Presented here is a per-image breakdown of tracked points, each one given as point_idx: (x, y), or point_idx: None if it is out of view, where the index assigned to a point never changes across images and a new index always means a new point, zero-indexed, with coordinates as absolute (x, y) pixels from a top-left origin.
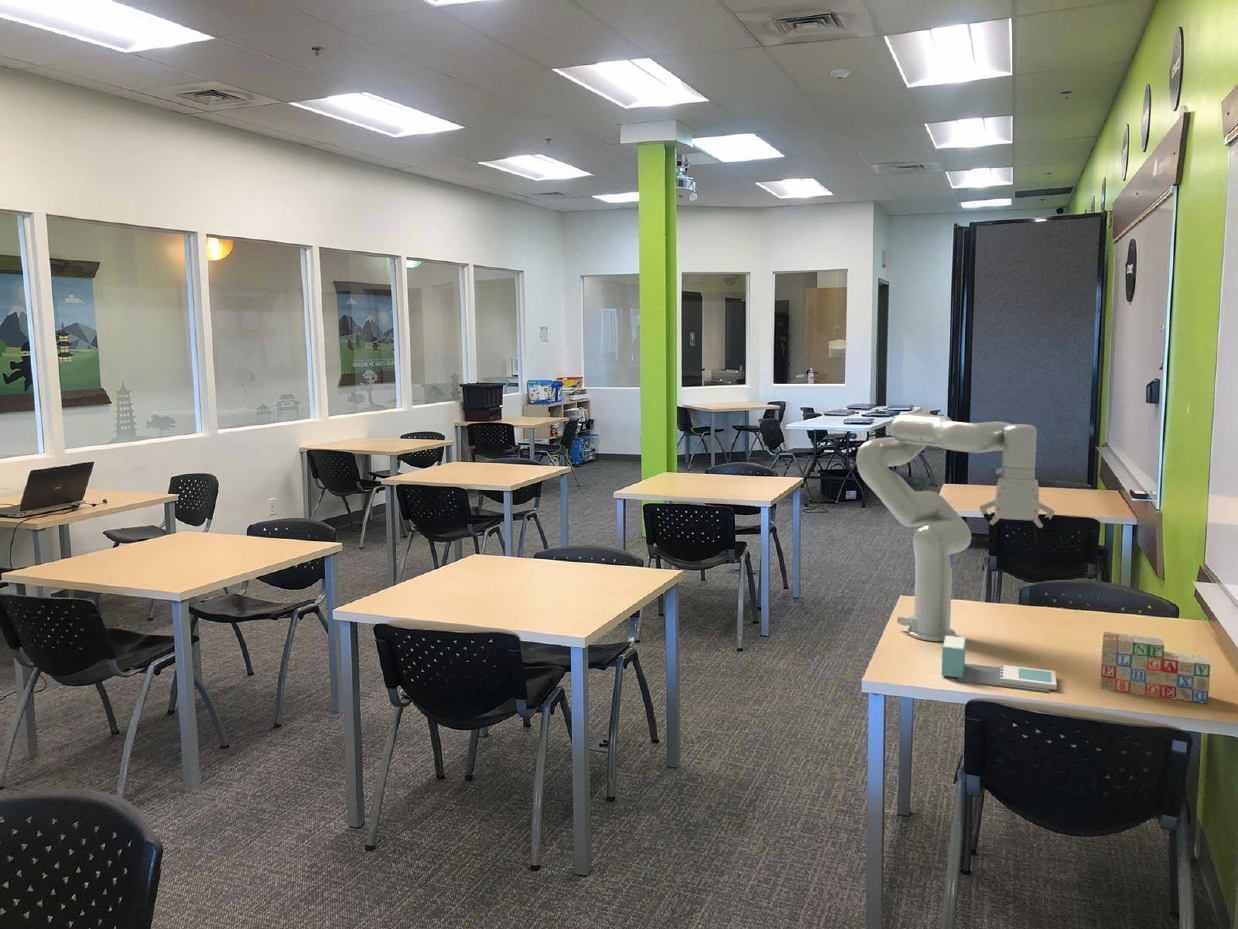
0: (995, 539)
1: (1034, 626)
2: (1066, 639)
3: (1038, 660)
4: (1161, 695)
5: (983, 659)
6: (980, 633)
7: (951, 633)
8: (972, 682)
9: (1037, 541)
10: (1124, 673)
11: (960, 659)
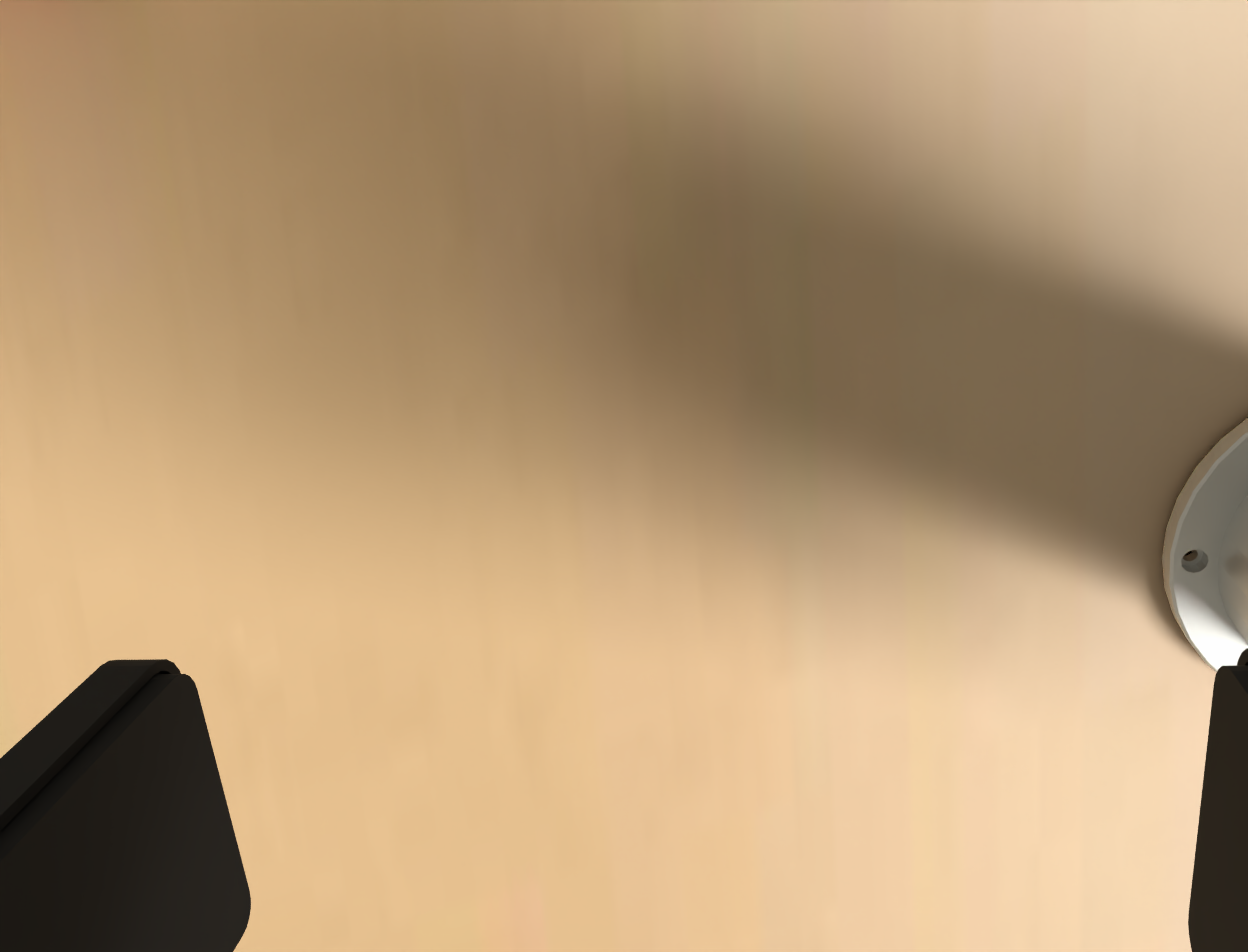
0: (1246, 668)
1: (648, 946)
2: (450, 763)
3: (565, 251)
4: None
5: (946, 88)
6: (978, 703)
7: (1205, 544)
8: None
9: (93, 678)
10: None
11: None
